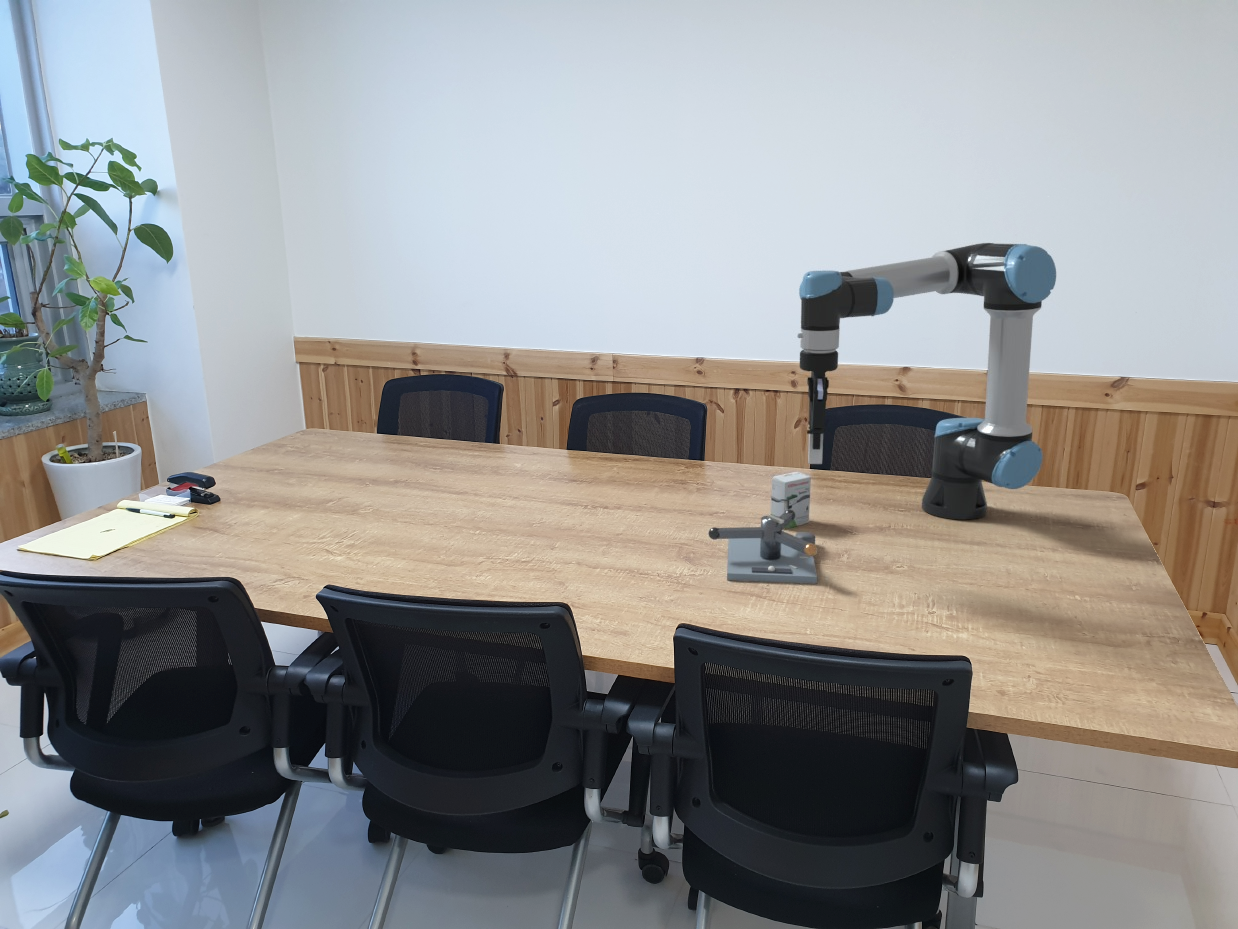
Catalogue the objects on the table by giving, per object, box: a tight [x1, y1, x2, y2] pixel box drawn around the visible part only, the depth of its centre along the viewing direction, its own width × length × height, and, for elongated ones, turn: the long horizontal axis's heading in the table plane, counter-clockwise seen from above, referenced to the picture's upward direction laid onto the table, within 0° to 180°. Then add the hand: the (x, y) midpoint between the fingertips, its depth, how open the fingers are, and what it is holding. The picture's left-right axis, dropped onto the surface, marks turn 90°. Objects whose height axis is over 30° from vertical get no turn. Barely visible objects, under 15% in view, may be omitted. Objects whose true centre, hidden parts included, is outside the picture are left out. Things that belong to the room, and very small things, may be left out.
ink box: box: [770, 471, 812, 530], centre depth 216 cm, size 9×5×12 cm, turn 123°
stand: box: [726, 531, 818, 585], centre depth 195 cm, size 19×23×3 cm
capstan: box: [708, 510, 818, 560], centre depth 190 cm, size 21×23×9 cm
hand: (815, 462), depth 188 cm, fingers closed
